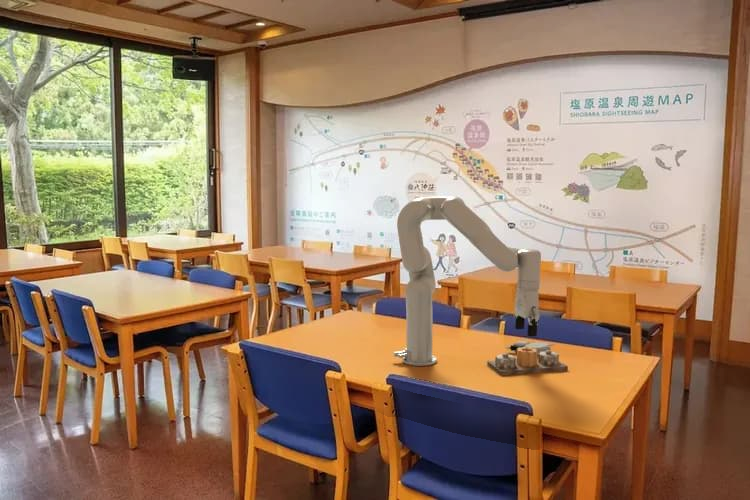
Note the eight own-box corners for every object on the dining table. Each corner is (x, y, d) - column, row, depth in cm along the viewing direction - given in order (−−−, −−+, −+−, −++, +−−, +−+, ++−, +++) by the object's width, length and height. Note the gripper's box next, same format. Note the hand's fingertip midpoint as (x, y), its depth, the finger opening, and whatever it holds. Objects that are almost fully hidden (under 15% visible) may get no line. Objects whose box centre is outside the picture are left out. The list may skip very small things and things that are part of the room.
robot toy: (504, 355, 237) (537, 360, 226) (503, 343, 237) (536, 348, 226) (523, 349, 245) (556, 354, 234) (523, 338, 245) (555, 342, 234)
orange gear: (521, 367, 214) (522, 353, 214) (513, 361, 221) (513, 347, 220) (540, 365, 216) (540, 351, 215) (531, 360, 222) (531, 346, 222)
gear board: (500, 375, 210) (500, 359, 209) (487, 365, 222) (487, 350, 221) (567, 370, 215) (568, 355, 214) (551, 360, 227) (551, 345, 226)
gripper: (508, 280, 223) (505, 326, 225) (529, 289, 206) (526, 339, 208) (527, 280, 224) (524, 326, 226) (550, 289, 207) (547, 338, 209)
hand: (525, 332), depth 217 cm, fingers open, 9 cm apart
